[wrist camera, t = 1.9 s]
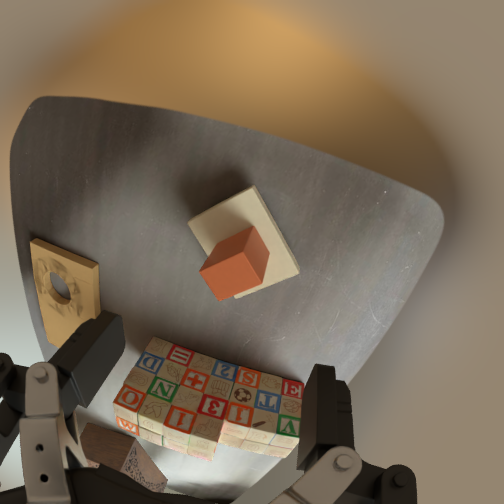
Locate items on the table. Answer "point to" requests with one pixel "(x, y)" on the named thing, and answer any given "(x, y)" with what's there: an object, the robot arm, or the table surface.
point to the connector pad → (239, 220)
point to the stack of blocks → (207, 404)
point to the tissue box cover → (121, 456)
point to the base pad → (78, 281)
